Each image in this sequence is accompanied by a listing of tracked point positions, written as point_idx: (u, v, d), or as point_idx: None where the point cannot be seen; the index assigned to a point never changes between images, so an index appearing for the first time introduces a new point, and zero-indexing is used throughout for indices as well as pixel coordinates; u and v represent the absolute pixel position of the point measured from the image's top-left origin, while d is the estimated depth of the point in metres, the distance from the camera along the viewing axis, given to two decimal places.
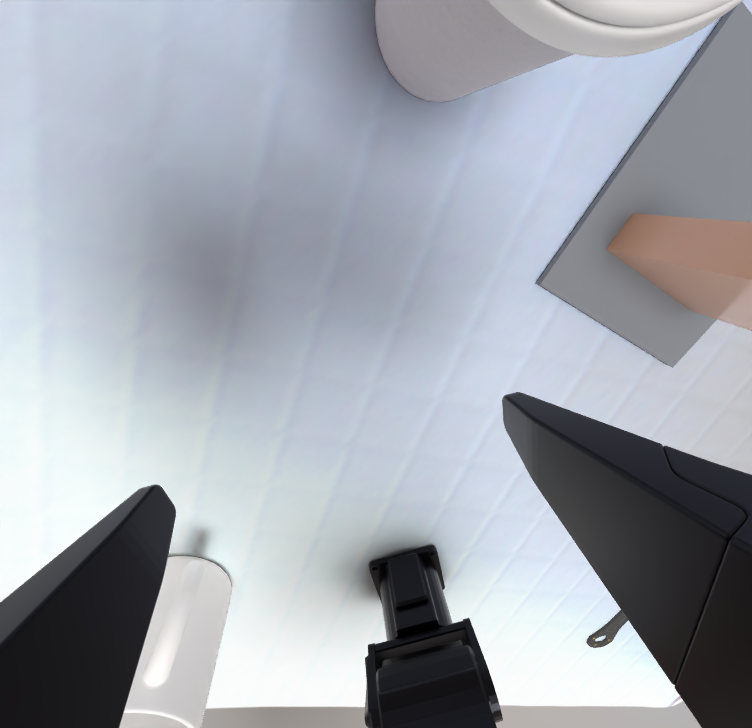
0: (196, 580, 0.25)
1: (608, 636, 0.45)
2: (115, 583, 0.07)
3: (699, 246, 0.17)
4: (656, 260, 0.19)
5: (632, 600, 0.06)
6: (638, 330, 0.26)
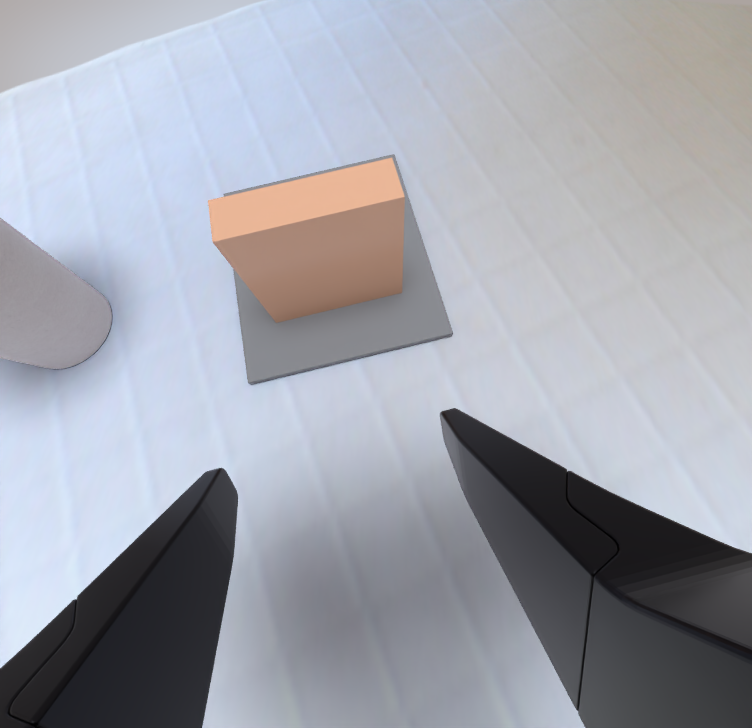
0: None
1: None
2: (197, 562, 0.07)
3: None
4: (257, 296, 0.21)
5: (541, 625, 0.06)
6: (375, 339, 0.24)
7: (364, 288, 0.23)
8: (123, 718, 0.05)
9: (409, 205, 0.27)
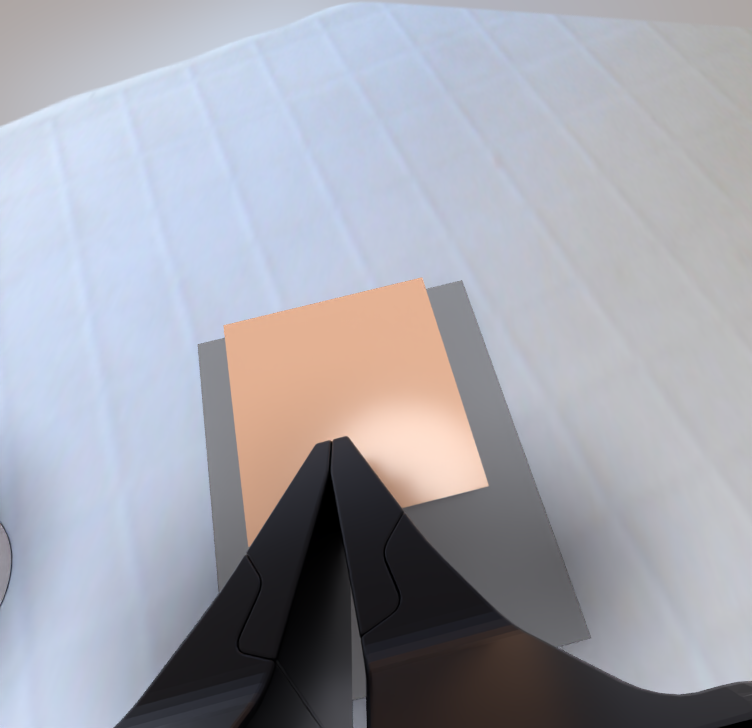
0: None
1: None
2: (333, 526, 0.07)
3: None
4: (238, 442, 0.14)
5: None
6: None
7: (408, 454, 0.14)
8: (315, 666, 0.05)
9: (493, 373, 0.17)
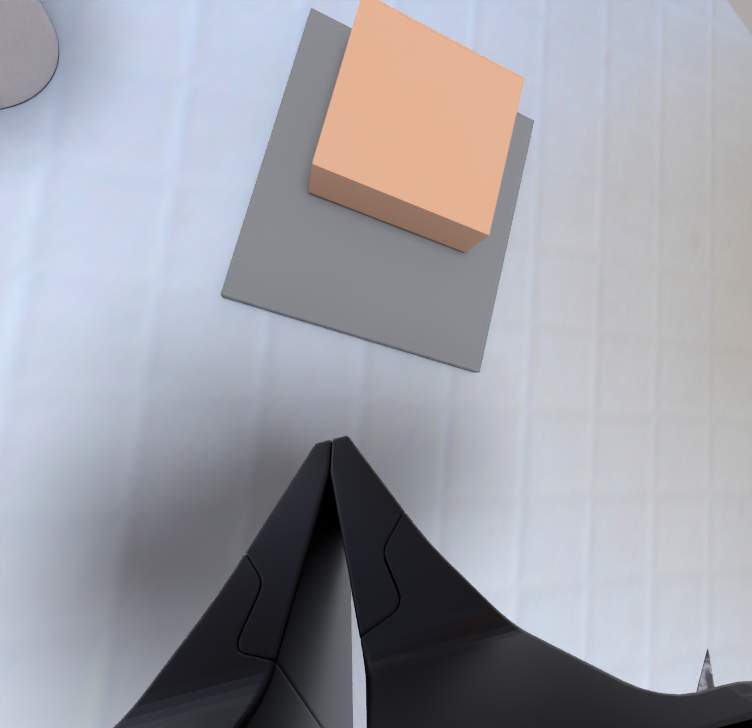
0: None
1: None
2: (333, 526, 0.07)
3: None
4: (336, 89, 0.16)
5: None
6: (399, 330, 0.19)
7: (451, 183, 0.17)
8: (315, 666, 0.05)
9: (515, 196, 0.21)
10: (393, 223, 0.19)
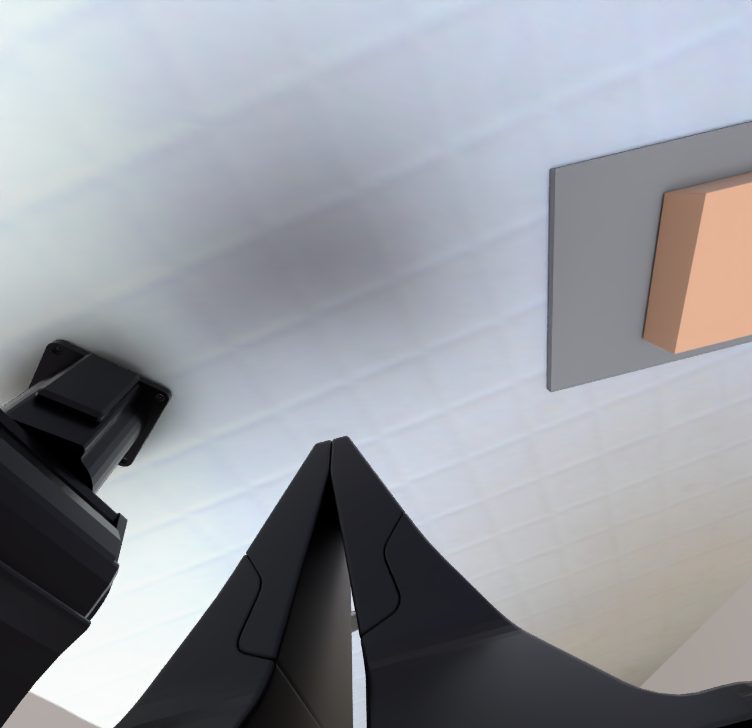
0: None
1: None
2: (333, 526, 0.07)
3: None
4: None
5: None
6: (565, 322, 0.23)
7: (711, 307, 0.21)
8: (315, 666, 0.05)
9: (698, 353, 0.25)
10: (654, 275, 0.22)
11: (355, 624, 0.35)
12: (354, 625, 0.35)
